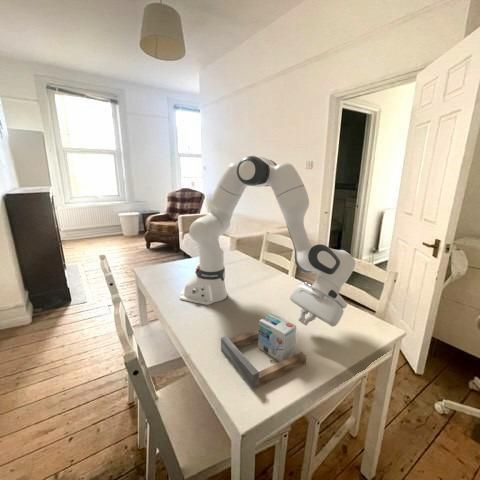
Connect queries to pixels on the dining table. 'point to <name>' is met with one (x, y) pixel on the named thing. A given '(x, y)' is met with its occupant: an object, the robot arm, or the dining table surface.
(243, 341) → the guide dock
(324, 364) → the dining table surface
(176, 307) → the dining table surface
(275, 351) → the light bulb box
